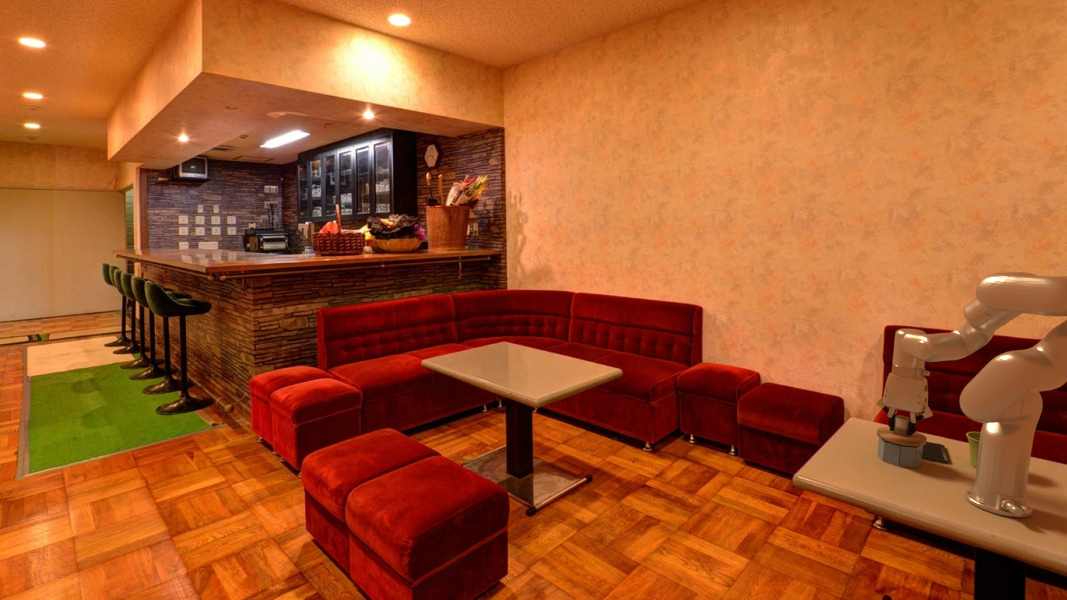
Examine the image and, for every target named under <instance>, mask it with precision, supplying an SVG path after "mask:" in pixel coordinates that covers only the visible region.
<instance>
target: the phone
mask: <svg viewBox="0 0 1067 600" xmlns="http://www.w3.org/2000/svg"><path fill="white" fill-rule="evenodd" d="M922 461H929V462H935V463H939V464H944V465H947V464H950V458H949V456H948V453H947V450H946V447H945V445H944V444H942V443H935V442H930V441H926V444H925V445H923V451H922Z"/></svg>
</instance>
